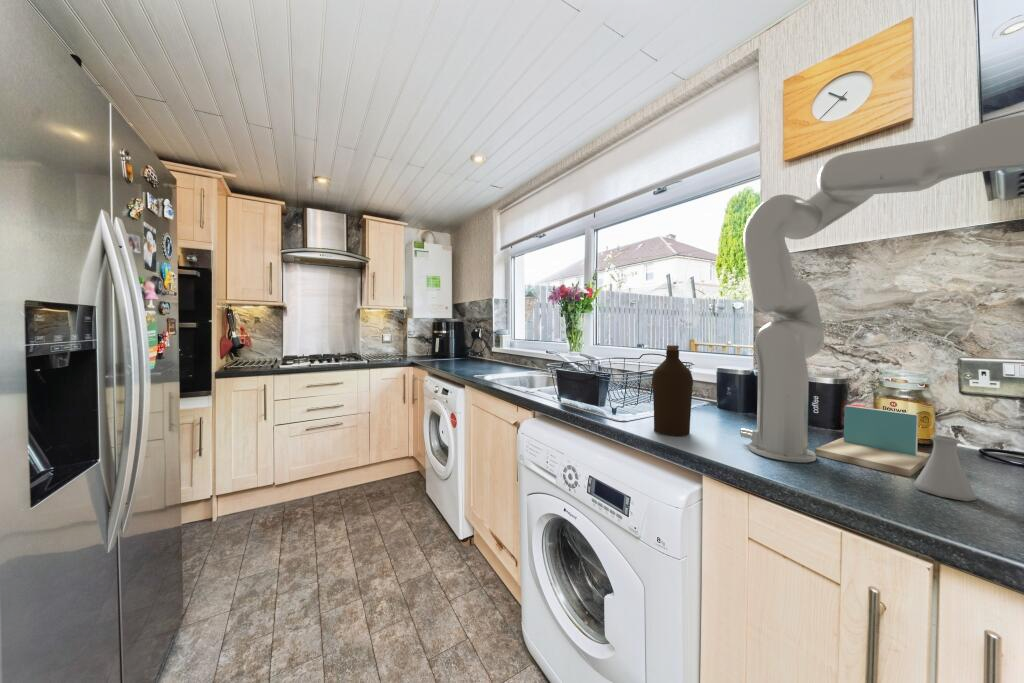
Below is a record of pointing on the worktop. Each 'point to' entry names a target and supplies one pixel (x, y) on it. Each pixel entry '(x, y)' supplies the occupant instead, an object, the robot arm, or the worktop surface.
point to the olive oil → (672, 395)
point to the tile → (881, 429)
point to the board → (873, 457)
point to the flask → (945, 472)
